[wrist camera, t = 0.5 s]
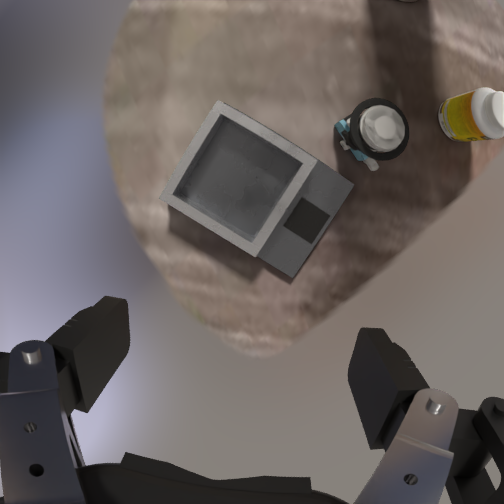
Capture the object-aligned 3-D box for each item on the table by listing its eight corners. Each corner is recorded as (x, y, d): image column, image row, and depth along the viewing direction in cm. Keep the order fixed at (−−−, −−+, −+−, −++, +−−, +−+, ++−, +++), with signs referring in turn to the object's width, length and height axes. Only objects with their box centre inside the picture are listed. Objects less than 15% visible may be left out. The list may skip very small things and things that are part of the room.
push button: (389, 157, 32) (432, 154, 23) (352, 182, 33) (386, 186, 23) (356, 107, 31) (390, 85, 21) (318, 131, 32) (341, 114, 22)
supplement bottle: (447, 148, 32) (499, 144, 22) (429, 105, 31) (478, 89, 21) (476, 135, 31) (528, 130, 21) (459, 94, 30) (509, 78, 20)
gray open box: (225, 104, 32) (220, 95, 28) (351, 184, 33) (363, 185, 29) (168, 199, 34) (156, 202, 30) (291, 274, 36) (295, 287, 32)
